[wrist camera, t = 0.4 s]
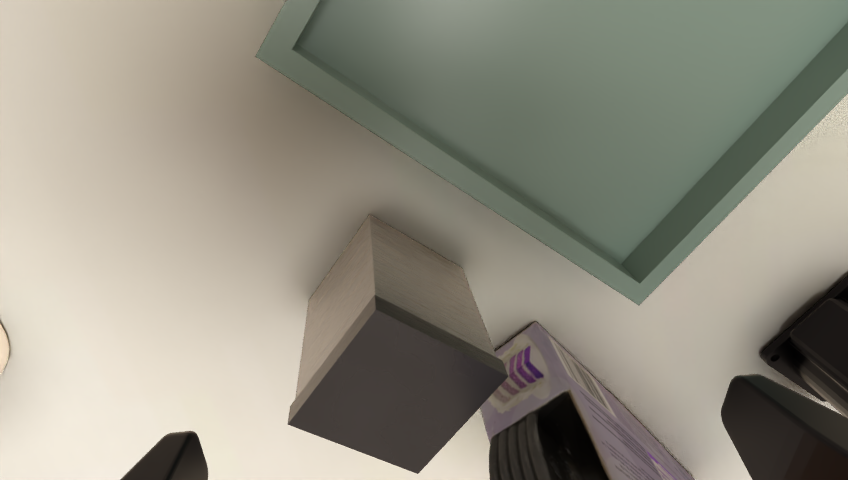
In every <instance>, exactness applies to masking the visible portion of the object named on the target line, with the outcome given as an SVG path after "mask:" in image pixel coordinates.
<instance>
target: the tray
mask: <svg viewBox="0 0 848 480" xmlns="http://www.w3.org/2000/svg"><path fill="white" fill-rule="evenodd" d="M255 57H257V58H259V59H260V60H262V61H263V62H265V63H266V64H268V65H269V66H271V67H272V68H274V69H275V70H277V71H279V72H280V73H282V74H283V75H285V76H286V77H288V78H289V79H291V80H292V81H294V82H296V83H297V84H299V85H300V86H302V87H303V88H305V89H306V90H308V91H309V92H311V93H312V94H314V95H316V96H317V97H319V98H320V99H322V100H323V101H325V102H326V103H328V104H329V105H331V106H332V107H334V108H336V109H337V110H339V111H340V112H342V113H343V114H345V115H346V116H348V117H349V118H351V119H353V120H354V121H356V122H357V123H359V124H360V125H362V126H363V127H365V128H366V129H368V130H369V131H371V132H373V133H374V134H376V135H377V136H379V137H380V138H382V139H383V140H385V141H386V142H388V143H389V144H391V145H393V146H394V147H396V148H397V149H399V150H400V151H402V152H403V153H405V154H406V155H408V156H410V157H411V158H413V159H414V160H416V161H417V162H419V163H420V164H422V165H423V166H425V167H426V168H428V169H430V170H431V171H433V172H434V173H436V174H437V175H439V176H440V177H442V178H443V179H445V180H446V181H448V182H450V183H451V184H453V185H454V186H456V187H457V188H459V189H460V190H462V191H463V192H465V193H467V194H468V195H470V196H471V197H473V198H474V199H476V200H477V201H479V202H480V203H482V204H483V205H485V206H487V207H488V208H490V209H491V210H493V211H494V212H496V213H497V214H499V215H500V216H502V217H503V218H505V219H507V220H508V221H510V222H511V223H513V224H514V225H516V226H517V227H519V228H520V229H522V230H524V231H525V232H527V233H528V234H530V235H531V236H533V237H534V238H536V239H537V240H539V241H540V242H542V243H544V244H545V245H547V246H548V247H550V248H551V249H553V250H554V251H556V252H557V253H559V254H560V255H562V256H564V257H565V258H567V259H568V260H570V261H571V262H573V263H574V264H576V265H577V266H579V267H580V268H582V269H584V270H585V271H587V272H588V273H590V274H591V275H593V276H594V277H596V278H597V279H599V280H601V281H602V282H604V283H605V284H607V285H608V286H610V287H611V288H613V289H614V290H616V291H617V292H619V293H621V294H622V295H624V296H625V297H627V298H628V299H630V300H631V301H633V302H634V303H636V304H637V305H640V304H641V303H642V302H643V301H644V300H645V299H646V298H647V297H648V296H649V295H650V294H651V293H652V292H653V291H654V290H655V289H656V288H657V287H658V286H659V285H660V284H661V283H662V282H663V281H664V280H665V279H666V278H667V277H668V276H669V275H670V274H671V273H672V271H673V270H674V269H675V268H676V267H677V266H678V265H679V264H680V263H681V262H682V261H683V260H684V259H685V258H686V257H687V256H688V255H689V254H690V253H691V252H692V251H693V250H694V249H695V248H696V247H697V246H698V245H699V244H700V243H701V242H702V241H703V240H704V239H705V238H706V237H707V236H708V235H709V234H710V233H711V232H712V231H713V230H714V229H715V228H716V227H717V226H718V225H719V224H720V223H721V222H722V221H723V220H724V219H725V218H726V217H727V216H728V215H729V214H730V213H731V212H732V210H733V209H734V208H735V207H736V206H737V205H738V204H739V203H740V202H741V201H742V200H743V199H744V198H745V197H746V196H747V195H748V194H749V193H750V192H751V191H752V190H753V189H754V188H755V187H756V186H757V185H758V184H759V183H760V182H761V181H762V180H763V179H764V178H765V177H766V176H767V175H768V174H769V173H770V172H771V171H772V170H773V169H774V168H775V167H776V166H777V165H778V164H779V163H780V162H781V161H782V160H783V159H784V158H785V157H786V156H787V155H788V154H789V153H790V152H791V151H792V150H793V148H794V147H795V146H796V145H797V144H798V143H799V142H800V141H801V140H802V139H803V138H804V137H805V136H806V135H807V134H808V133H809V132H810V131H811V130H812V129H813V128H814V127H815V126H816V125H817V124H818V123H819V122H820V121H821V120H822V119H823V118H824V117H825V116H826V115H827V114H828V113H829V112H830V111H831V110H832V109H833V108H834V107H835V106H836V105H837V104H838V103H839V102H840V101H841V100H842V99H843V98H844V97H845V96H846V95H847V94H848V0H286V2H285V3H284V5H283V7H282V9H281V11H280V13H279V14H278V16H277V18H276V20H275V22H274V23H273V25H272V27H271V29H270V31H269V33H268V34H267V36H266V38H265V40H264V42H263V44H262V45H261V47H260V49H259V51H258V53H257V54H256V56H255Z"/></svg>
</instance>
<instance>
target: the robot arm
mask: <svg viewBox="0 0 848 480" xmlns="http://www.w3.org/2000/svg"><path fill="white" fill-rule="evenodd" d="M761 358H762V359H763V360H764V361H765V362H766V363H767V364H768V365H770V366H771V367H772V368H774V369H775V370H777V371H778V372H780V373H781V374H783V375H784V376H786V377H787V378H789V379H790V380H792V381H793V382H795V383H796V384H797V385H799V386H800V387H802V388H803V389H805V390H806V391H808V392H809V393H811V394H812V395H814V396H815V397H817V398H818V399H820V400H821V401H823V402H825V401H827V402H829V403H830V404H831V405H832V406H833V407H834V408H835V409H836V410H838V411H839V412H840V413H841V414H842V415H841V414H839V413H837V412H835V411H833V410H831V409H829V408H827V407H825V406H823V405H821V404H819V403H817V402H815V401H813V400H811V399H809V398H807V397H805V396H803V395H801V394H799V393H797V392H794V391H792V390H790V389H788V388H786V387H784V386H782V385H780V384H778V383H776V382H774V381H772V380H770V379H768V378H766V377H764V376H762V375H759V374H750V375H740V376H736V377H734V378H733V379H732V380H731V382H730V385H729V388H728V391H727V394H726V397H725V400H724V403H723V406H722V409H721V418H722V422H723V424H724V427H725V429H726V430H727V432H728V434H729V436H730V438H731V440H732V442H733V444H734V446H735V447H736V449H737V451H738V453H739V455H740V457H741V459H742V461H743V463H744V464H745V466H746V468H747V470H748V472H749V474H750V476H751V478H752V479H753V480H848V276H847V277H846V278H845V279H844V280H842V281H841V282H840V283H839V284H838V285H837V286H836V287H835V288H833V289H832V290H831V291H830V292H829V293H828V294H827V295H825V296H824V297H823V298H822V299H821V300H820V301H819V302H818V303H816V304H815V305H814V306H813V307H812V308H811V309H810V310H809V311H807V312H806V313H805V314H804V315H803V316H802V317H801V318H799V319H798V320H797V321H796V322H795V323H794V324H793V325H792V326H790V327H789V328H788V329H787V330H786V331H785V332H784V333H783V334H781V335H780V336H779V337H778V338H777V339H776V340H775V341H773V342H772V343H771V344H770V345H769V346H768V347H767V348H766V349H764V351H763V352H762V354H761ZM121 480H208V468H207V463H206V460H205V457H204V454H203V451H202V447H201V444H200V441H199V438H198V436H197V434H196V433H195V432H193V431H185V432H176V433H169V434H167V435H166V436H164V437H163V438H162V439H161V440H160V441H159V442H158V443H157V444H156V445H155V446H154V447H153V448H152V449H151V450H150V451H149V452H148V453H147V454H146V455H145V456H144V457H143V458H142V459H141V460H140V461H139V462H138V463H137V464H136V465H135V466H134V467H133V468H132V469H131V470H130V471H129V472H128V473H127V474H126V475H125V476H124V477H123V478H122V479H121Z"/></svg>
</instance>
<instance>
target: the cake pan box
mask: <svg viewBox="0 0 848 480" xmlns="http://www.w3.org/2000/svg"><path fill="white" fill-rule="evenodd" d="M495 354H496V357H497V358H499V359H501V360H502V361H503V363H504V366H505V369H506V371H507V374H508V378H507V379H506V380H505V381H504V382H503V383H502V384H501V385H500V386H499V387H498V388H497V389H496V390H495V392H494V393H493V394H492V395H491V396H490V397H489V398H488V399H487V400H486V401H485V402H484V403H483V404H482V406H481V407H480V409H481V413H482V417H483V421H484V425H485V428H486V431H487V435H488V438H489V442H490V444H491V445H490V452H489V472H490V480H695V479H694V478H693V477H692V476H691V475H690V474H689V473H688V472H687V471H686V470H685V469H684V468H683V467H682V466H681V465H680V464H679V463H678V462H677V461H676V460H675V459H674V458H673V457H672V456H671V455H670V454H669V453H668V452H667V451H666V449H665V448H664V447H663V446H662V445H661V444H660V443H659V442H658V441H657V440H656V439H655V438H654V437H653V436H652V435H651V434H650V433H649V432H648V431H647V430H646V428H645V426H643V425H642V424H641V423H640V422H639V421H638V420H637V419H636V418H635V417H634V416H633V415H632V414H631V413H630V412H629V411H628V410H627V409H626V408H625V407H624V406H623V405H622V404H621V402H620V401H619V400H618V399H617V398H616V397H615V396H614V395H613V394H612V393H611V392H610V391H607V390H606V389H605V388H604V387H603V386H602V385H601V384H600V383H599V382H598V381H597V380H596V379H595V378H594V377H593V376H592V375H591V374H590V373H589V372H588V371H587V370H586V369H585V368H584V367H583V366H582V365H581V364H580V363H579V362H578V361H577V360H576V359H574V358H573V357H572V356H571V355H570V354H569V353H568V352H567V351H566V350H565V349H564V348H563V347H562V346H561V345H560V344H559V343H558V342H557V341H556V340H555V339H553V338H552V337H551V336H550V335H549V333H548V332H547V331H546V330H545V329H544V328H543V327H541V326H540V325H539V324H538V323H537V322H534V323H532V324H531V325H530V326H528V327H527V328H526V329H524V330H523V331H522V332H520V333H519V334H517V335H516V336H515V337H514V338H512V339H511V340H510V341H508V342H507V343H506V344H504V345H503V346H502V347H500V348H499V349H498V350H496V351H495Z"/></svg>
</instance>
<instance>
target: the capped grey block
mask: <svg viewBox="0 0 848 480" xmlns="http://www.w3.org/2000/svg"><path fill="white" fill-rule="evenodd" d="M507 378H508V374H507V371H506V369H505V366H504V363H503V361H502V360H501V359H499V358H497V357H496V354H495V351H494V349H493V346H492V344H491V341H490V338H489V336H488V333H487V331H486V328H485V325H484V323H483V320H482V318H481V315H480V312H479V310H478V307H477V305H476V302H475V299H474V297H473V294H472V292H471V289H470V286H469V284H468V281H467V278H466V276H465V273H464V271H463V268H461V267H460V266H458V265H456V264H455V263H453V262H451V261H449V260H448V259H446V258H444V257H442V256H441V255H439V254H437V253H436V252H434V251H432V250H430V249H429V248H427V247H425V246H424V245H422V244H420V243H418V242H417V241H415V240H413V239H411V238H410V237H408V236H406V235H405V234H403V233H401V232H399V231H398V230H396V229H394V228H392V227H391V226H389V225H387V224H386V223H384V222H382V221H380V220H379V219H377V218H375V217H374V216H372V215H370V214H369V215H368V217H367V218H366V220H365V221H364V223H363V224H362V225H361V227H360V228H359V230H358V231H357V233H356V234H355V235H354V237H353V238H352V240H351V241H350V242H349V244H348V245H347V247H346V248H345V250H344V251H343V252H342V254H341V255H340V257H339V258H338V259H337V261H336V262H335V264H334V265H333V267H332V268H331V269H330V271H329V272H328V274H327V275H326V277H325V278H324V279H323V281H322V282H321V284H320V285H319V286H318V288H317V289H316V291H315V292H314V294H313V295H312V296H311V298H310V299H309V303H308V310H307V317H306V325H305V332H304V339H303V347H302V354H301V361H300V369H299V376H298V383H297V391H296V398H295V401H294V402H293V403H292V405H291V406H290V412H289V419H288V425H291V426H293V427H296V428H299V429H301V430H304V431H307V432H309V433H312V434H314V435H317V436H320V437H322V438H325V439H328V440H330V441H333V442H335V443H338V444H341V445H343V446H346V447H349V448H351V449H354V450H357V451H359V452H362V453H364V454H367V455H370V456H372V457H375V458H378V459H380V460H383V461H385V462H388V463H391V464H393V465H396V466H399V467H401V468H404V469H407V470H409V471H412V472H414V473H417V474H418V473H419V472H420V471H421V470H422V469H423V468H424V467H425V466H426V465H427V464H428V462H429V461H430V460H431V459H432V458H433V457H434V456H435V455H436V454H437V453H438V452H439V451H440V450H441V449H442V447H443V446H444V445H445V444H446V443H447V442H448V441H449V440H450V439H451V438H452V437H453V436H454V435H455V433H456V432H457V431H458V430H459V429H460V428H461V427H462V426H463V425H464V424H465V423H466V422H467V421H468V419H469V418H470V417H471V416H472V415H473V414H474V413H475V412H476V411H477V410H478V409H479V408H480V407H481V406H482V404H483V403H484V402H485V401H486V400H487V399H488V398H489V397H490V396H491V395H492V394H493V393H494V392H495V390H496V389H497V388H498V387H499V386H500V385H501V384H502V383H503V382H504V381H505V380H506V379H507Z"/></svg>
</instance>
